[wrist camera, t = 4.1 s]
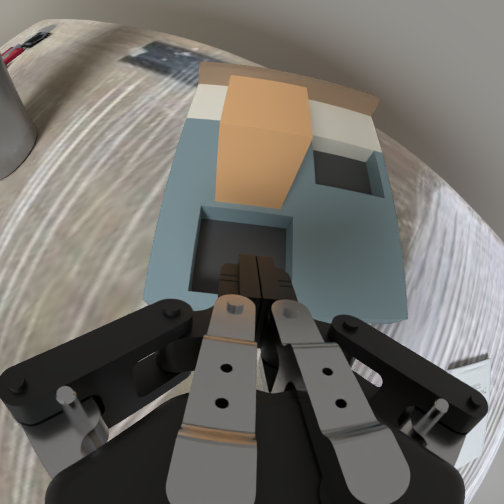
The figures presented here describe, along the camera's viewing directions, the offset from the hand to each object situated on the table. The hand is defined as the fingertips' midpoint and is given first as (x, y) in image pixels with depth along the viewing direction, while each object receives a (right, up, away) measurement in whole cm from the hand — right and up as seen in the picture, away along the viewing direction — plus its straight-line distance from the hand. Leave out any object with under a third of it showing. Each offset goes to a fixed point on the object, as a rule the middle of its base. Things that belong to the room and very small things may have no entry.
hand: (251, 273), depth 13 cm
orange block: (0, +7, +9) cm, 12 cm away
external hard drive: (+23, -17, +7) cm, 30 cm away
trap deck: (+3, +7, +13) cm, 15 cm away
